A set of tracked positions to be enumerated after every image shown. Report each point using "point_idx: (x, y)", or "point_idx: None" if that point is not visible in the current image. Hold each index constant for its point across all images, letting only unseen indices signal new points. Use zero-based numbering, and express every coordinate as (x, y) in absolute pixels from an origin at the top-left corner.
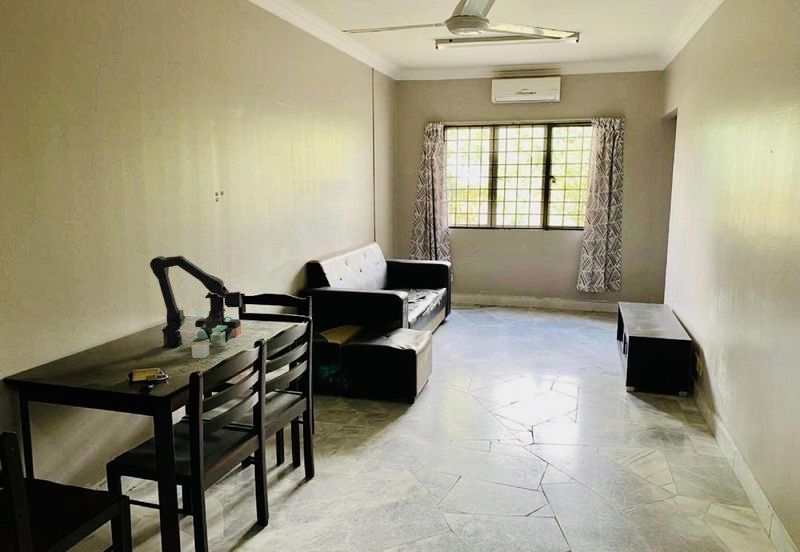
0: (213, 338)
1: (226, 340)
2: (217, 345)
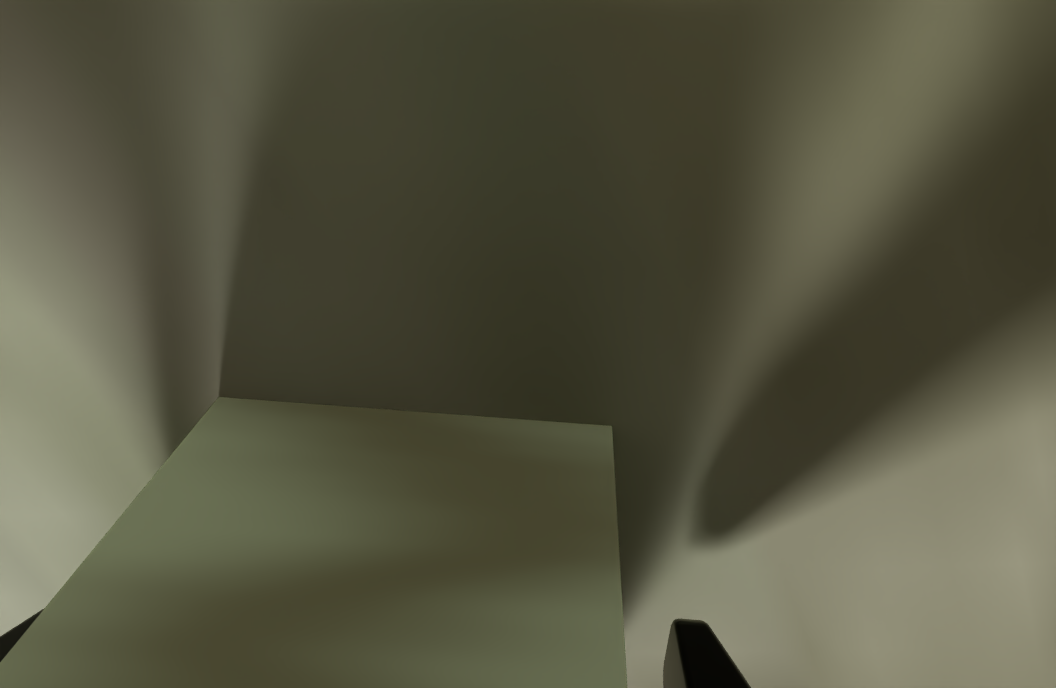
0: (465, 645)
1: (22, 626)
2: (364, 423)
